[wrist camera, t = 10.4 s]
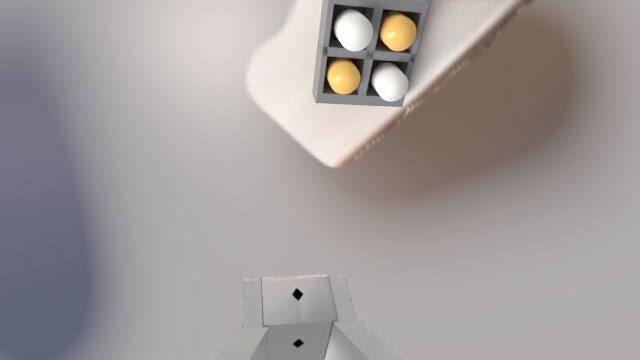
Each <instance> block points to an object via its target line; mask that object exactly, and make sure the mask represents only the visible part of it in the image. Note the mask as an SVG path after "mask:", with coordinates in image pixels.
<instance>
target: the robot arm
mask: <svg viewBox="0 0 640 360" xmlns="http://www.w3.org/2000/svg"><path fill="white" fill-rule="evenodd" d="M242 307H243V309H242V328H239V329H236V331H235V332H234V334H233V335H232V337H231V338H230V340H229V341H228V343H227V344H226V346H225V347H224V349H223V350H222V351H221V353H220V354H219V356H218V357H217V359H216V360H403V359H402V358H401V357H400V356H399V355H398V354H397V353H396V352H395V351H394V350H393V349H392V348H391V347H390V346H388V344H387V343H385V342H384V341H383V340H382V339H381V338H380V337H379V336H378V335H377V334H376V333H375V332H374V331H373V330H372V329H371V328H370V327H369V326H368V325H367V324H366V323H365V322H363V320H357V317H356V314H355V310H354V306H353V303H352V299H351V296H350V292H349V289H348V285H347V282H346V278H345V276H344V274H327V275H326V274H319V275H303V276H302V275H301V276H294V277H254V278H253V277H250V278H243V306H242Z"/></svg>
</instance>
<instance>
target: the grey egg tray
mask: <svg viewBox="0 0 640 360" xmlns="http://www.w3.org/2000/svg"><path fill="white" fill-rule="evenodd" d="M429 3H430V1H428V0H323V5H322V14H321V23H320V31H319V40H318V49H317V58H316V66H315V75H314V84H313V96H314V98H315V101H316V103H329V104H350V105H371V106H392V107H402V106H403V102H404V98H405V95H404V96H403V97H402V98H400V99H399V100H396V101H392V102H389V101H385V100H384V99H382V98H381V97H380V95H379V94H378V92H377V91H376V90H375V88H374V87H368V82H369V77H370V72H371V67H372V62H373V60H387V61H399V62H398V66H397V67H398V68H399V69H400V70H401V72H402V73H403V74H404V75H405V76H406V77H407V79H408V83H409V79H410V75H411V71H412V67H413V64H414V60H415V56H416V52H417V48H418V45H419V41H420V37H421V33H422V29H423V25H424V22H425V18H426V14H427V10H428V6H429ZM334 4H339V5H349V6H358V7H366V11H365V17H366V18H367V19H368V20H369V21H370V23H371V24H372V27H373V36H372V39H371V42H370V43H369V44H368V46H367V47H365V48H364V49H362V50H360V51H349V50H347V49H346V48H344V46H343V45H342V44H341V43H340V41H335V40H329V39H330V31H331V23H332V16H333V8H334ZM383 9H388V10H397V11H407V12H410V15H409V19H411V20H412V21H413V22H414V24H415V26H416V37H415V40H414V42H413V43H412V45H411V46H410V47H408V48H407V49H405V50H403V51H394V50H391V49H390V48H389V47H388V46H387V45H383V44H376V42H377V37H378V32H379V27H380V22H381V17H382V12H383ZM327 56H332V57H346V58H357V62H356V68H357V69H358V71H359V73H360V83H359V85H358V87H357V88H356V89H355V90H354V91H353V92H351V93H349V94H338V93H336V92H335V91H334V90H333V89H332V87H331V85H329V84H324V77H325V70H326V62H327ZM405 94H406V93H405Z"/></svg>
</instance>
